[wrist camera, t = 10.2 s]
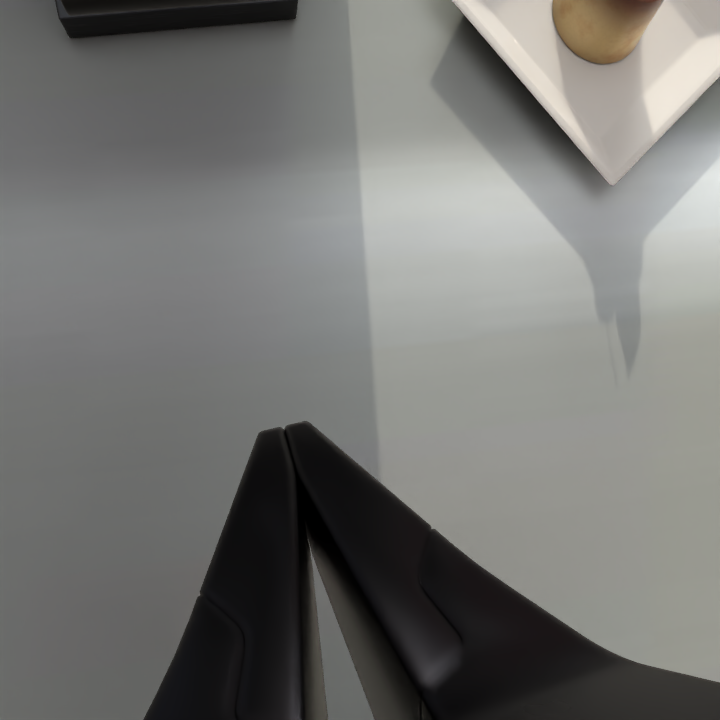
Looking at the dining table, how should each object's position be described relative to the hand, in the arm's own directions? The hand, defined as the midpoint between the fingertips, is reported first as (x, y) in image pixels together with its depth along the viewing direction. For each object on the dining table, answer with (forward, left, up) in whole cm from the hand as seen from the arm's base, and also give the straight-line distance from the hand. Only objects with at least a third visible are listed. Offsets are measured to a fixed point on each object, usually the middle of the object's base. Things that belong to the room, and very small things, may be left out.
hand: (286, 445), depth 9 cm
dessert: (+23, +3, -13) cm, 27 cm away
